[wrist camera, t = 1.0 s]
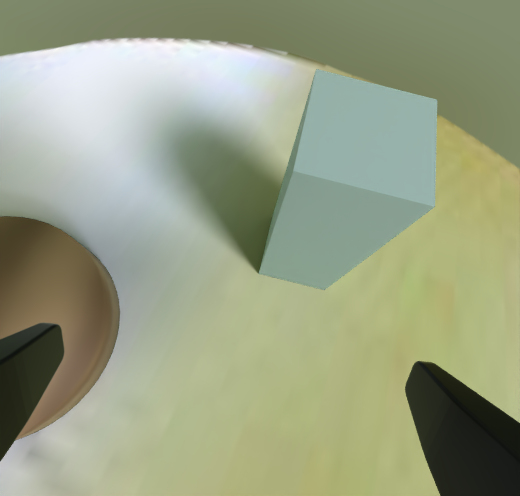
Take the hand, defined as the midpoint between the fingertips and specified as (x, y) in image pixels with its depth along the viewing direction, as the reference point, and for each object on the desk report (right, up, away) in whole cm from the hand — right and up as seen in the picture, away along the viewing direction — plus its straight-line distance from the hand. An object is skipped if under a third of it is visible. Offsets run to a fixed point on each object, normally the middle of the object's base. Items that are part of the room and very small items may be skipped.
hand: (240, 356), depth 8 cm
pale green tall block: (+3, +3, +16) cm, 16 cm away
